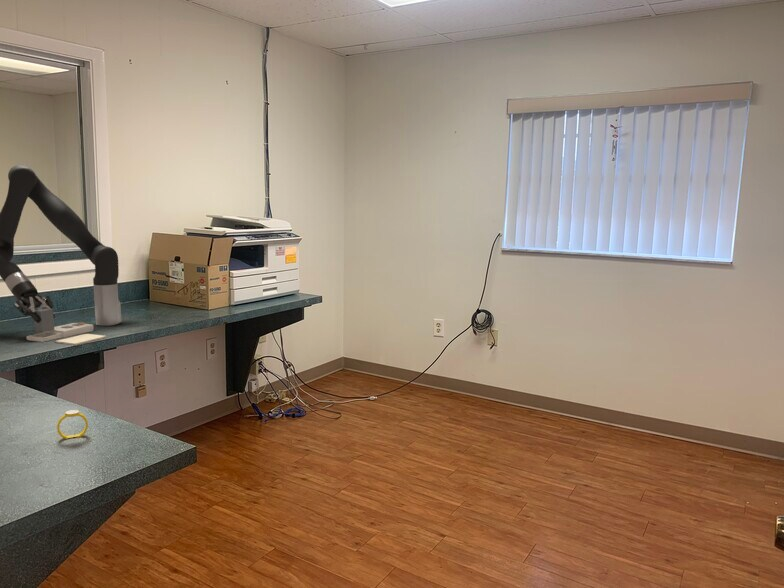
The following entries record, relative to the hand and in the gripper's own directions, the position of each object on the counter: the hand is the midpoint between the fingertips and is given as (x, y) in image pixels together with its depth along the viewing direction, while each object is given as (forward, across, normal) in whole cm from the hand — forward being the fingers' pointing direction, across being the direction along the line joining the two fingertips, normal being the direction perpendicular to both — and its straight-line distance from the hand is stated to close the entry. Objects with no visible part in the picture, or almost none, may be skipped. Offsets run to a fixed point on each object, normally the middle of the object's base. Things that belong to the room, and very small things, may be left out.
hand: (46, 319), depth 226 cm
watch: (+69, -67, -58) cm, 112 cm away
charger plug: (+2, 0, +4) cm, 4 cm away
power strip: (+4, +7, +6) cm, 10 cm away
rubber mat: (+14, +4, -4) cm, 15 cm away
